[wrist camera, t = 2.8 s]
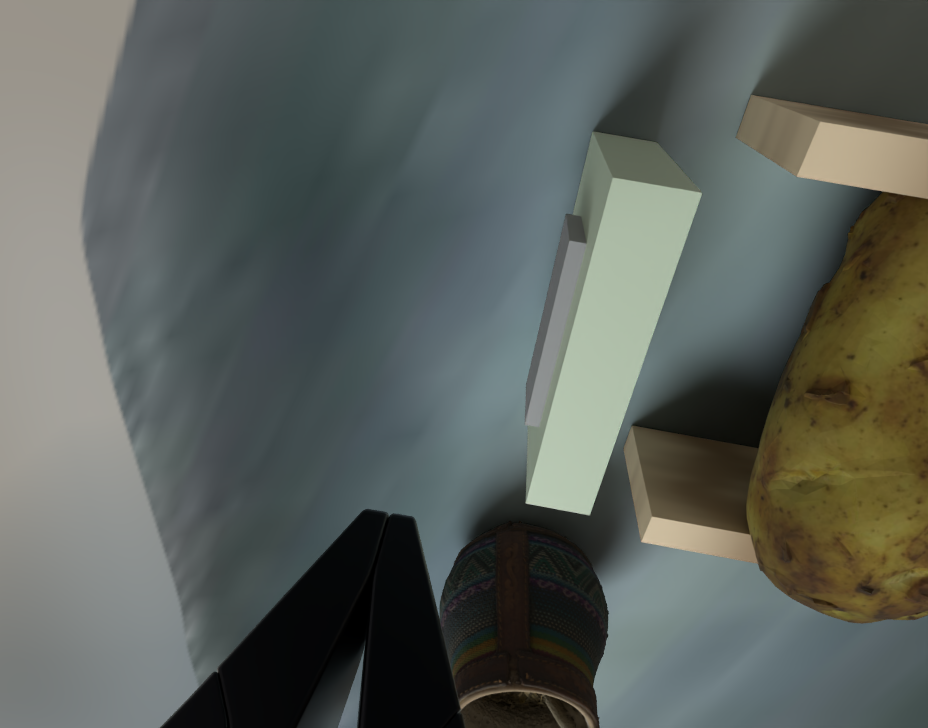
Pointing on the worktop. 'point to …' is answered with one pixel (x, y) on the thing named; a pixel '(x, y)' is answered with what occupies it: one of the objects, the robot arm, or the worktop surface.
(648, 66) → the worktop surface
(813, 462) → the potato
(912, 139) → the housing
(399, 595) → the robot arm
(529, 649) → the mate gourd
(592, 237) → the pale green block
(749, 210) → the worktop surface
